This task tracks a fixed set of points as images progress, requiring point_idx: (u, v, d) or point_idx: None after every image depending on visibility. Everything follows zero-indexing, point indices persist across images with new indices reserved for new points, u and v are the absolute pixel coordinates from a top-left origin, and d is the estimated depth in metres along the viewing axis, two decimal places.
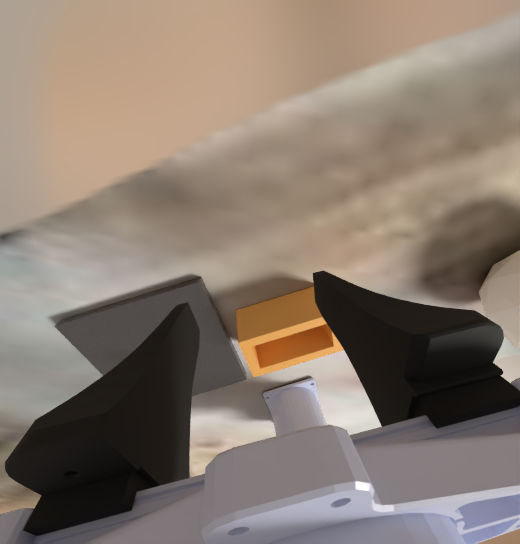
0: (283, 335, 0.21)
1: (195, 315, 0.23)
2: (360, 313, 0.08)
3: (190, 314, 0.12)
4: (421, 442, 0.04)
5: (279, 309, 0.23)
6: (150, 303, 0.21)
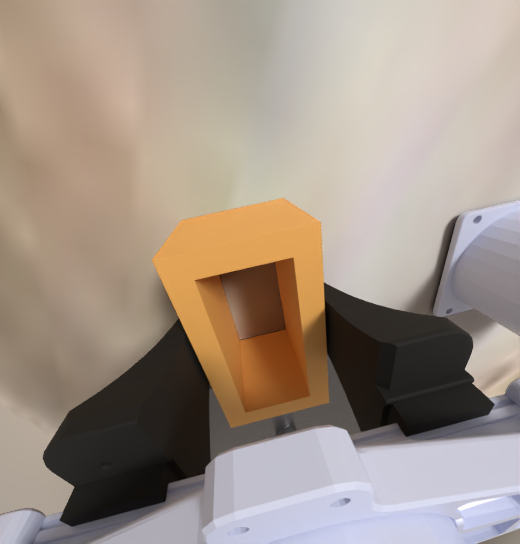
0: (225, 372, 0.09)
1: None
2: (338, 318, 0.08)
3: None
4: (421, 442, 0.04)
5: None
6: None
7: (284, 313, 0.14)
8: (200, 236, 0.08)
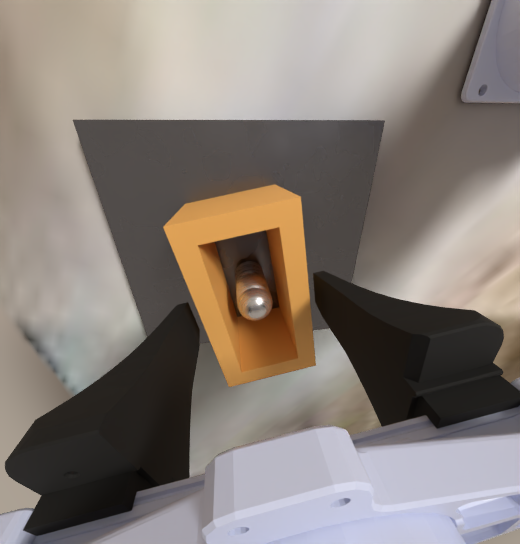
0: (223, 331, 0.11)
1: (163, 165, 0.12)
2: (360, 313, 0.08)
3: (190, 314, 0.12)
4: (421, 442, 0.04)
5: None
6: (123, 231, 0.13)
7: (277, 290, 0.16)
8: (202, 211, 0.09)
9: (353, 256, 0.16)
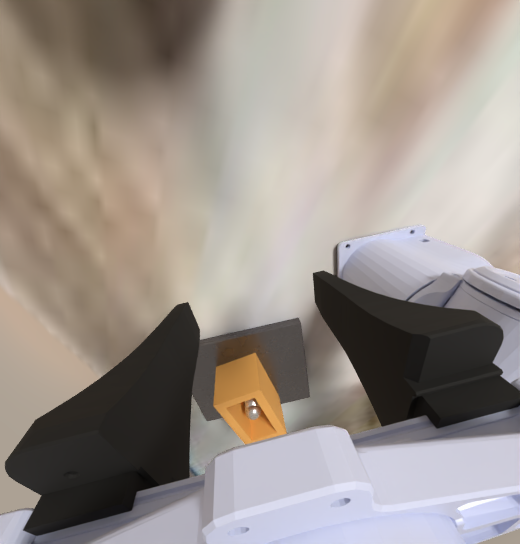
0: (240, 429, 0.26)
1: (205, 357, 0.27)
2: (360, 313, 0.08)
3: (190, 314, 0.12)
4: (421, 442, 0.04)
5: None
6: None
7: None
8: (225, 389, 0.24)
9: (304, 368, 0.30)
